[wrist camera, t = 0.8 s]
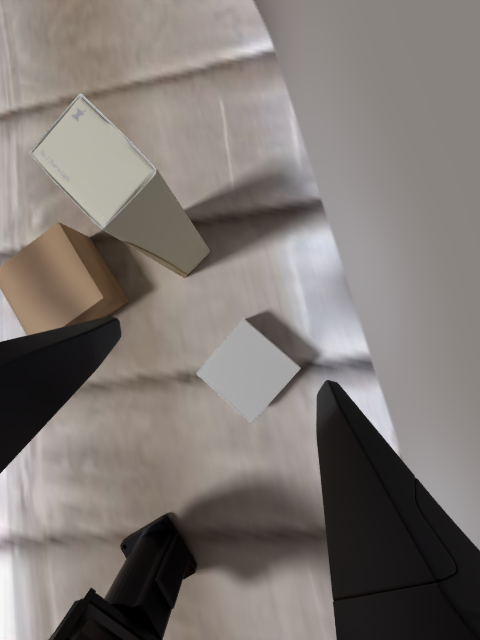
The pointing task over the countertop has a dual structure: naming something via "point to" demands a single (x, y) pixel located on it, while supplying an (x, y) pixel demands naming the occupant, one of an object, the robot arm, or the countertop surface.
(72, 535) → the countertop surface
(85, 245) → the brown flat block
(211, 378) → the grey block
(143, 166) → the skincare box
